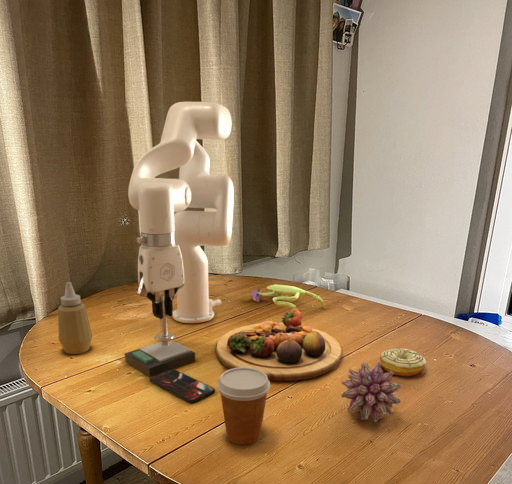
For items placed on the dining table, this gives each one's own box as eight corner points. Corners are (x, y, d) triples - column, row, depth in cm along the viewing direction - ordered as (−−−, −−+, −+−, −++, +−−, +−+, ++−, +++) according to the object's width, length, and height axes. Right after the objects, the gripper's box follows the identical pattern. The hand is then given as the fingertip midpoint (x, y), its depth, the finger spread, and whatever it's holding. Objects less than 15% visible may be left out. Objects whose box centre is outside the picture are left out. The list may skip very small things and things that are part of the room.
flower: (381, 407, 107) (414, 426, 95) (329, 413, 103) (357, 433, 92) (383, 354, 105) (416, 367, 93) (330, 358, 101) (359, 372, 90)
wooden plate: (262, 321, 148) (263, 295, 145) (362, 348, 131) (365, 319, 128) (189, 358, 124) (188, 327, 121) (300, 397, 107) (302, 362, 104)
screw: (178, 341, 123) (168, 349, 119) (160, 339, 125) (151, 346, 120) (175, 291, 118) (165, 297, 114) (157, 289, 120) (147, 295, 116)
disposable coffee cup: (217, 421, 98) (216, 366, 93) (266, 420, 98) (267, 365, 94) (218, 451, 89) (217, 391, 84) (271, 449, 90) (273, 390, 85)
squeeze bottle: (83, 358, 124) (74, 288, 117) (54, 355, 125) (43, 286, 119) (99, 345, 131) (92, 279, 124) (71, 342, 133) (62, 277, 126)
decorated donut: (432, 368, 121) (434, 354, 120) (411, 383, 114) (414, 368, 112) (393, 355, 127) (394, 341, 126) (371, 368, 120) (373, 354, 119)
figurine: (282, 321, 149) (283, 303, 147) (242, 296, 171) (242, 280, 169) (332, 311, 157) (333, 295, 155) (287, 288, 179) (288, 273, 177)
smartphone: (172, 368, 118) (216, 389, 108) (172, 370, 118) (216, 391, 108) (147, 378, 113) (191, 401, 103) (147, 381, 113) (191, 404, 103)
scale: (169, 347, 130) (169, 336, 129) (195, 361, 123) (195, 349, 122) (125, 362, 122) (124, 350, 121) (149, 377, 114) (148, 365, 113)
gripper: (136, 247, 105) (142, 328, 112) (196, 237, 115) (199, 312, 122) (118, 241, 110) (125, 319, 117) (177, 232, 120) (181, 305, 127)
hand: (163, 315), depth 119 cm, fingers closed on screw, 2 cm apart
